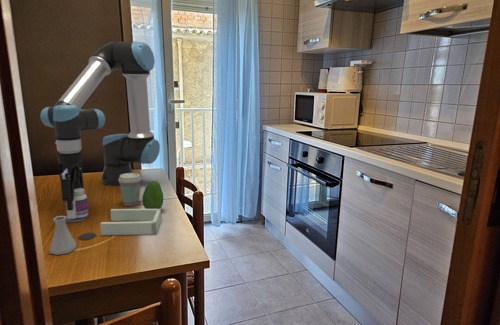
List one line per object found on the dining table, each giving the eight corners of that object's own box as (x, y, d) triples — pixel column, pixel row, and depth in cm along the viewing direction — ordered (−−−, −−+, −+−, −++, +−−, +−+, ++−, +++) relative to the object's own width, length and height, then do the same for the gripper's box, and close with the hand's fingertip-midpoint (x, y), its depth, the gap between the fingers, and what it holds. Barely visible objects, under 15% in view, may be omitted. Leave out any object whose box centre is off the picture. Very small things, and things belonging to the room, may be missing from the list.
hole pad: (82, 233, 107) (81, 232, 107) (98, 232, 108) (98, 232, 108) (75, 240, 103) (75, 240, 103) (92, 240, 103) (92, 239, 103)
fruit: (138, 210, 127) (136, 181, 124) (156, 205, 133) (155, 177, 130) (149, 216, 122) (148, 185, 119) (167, 211, 128) (167, 181, 125)
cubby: (112, 219, 118) (111, 209, 118) (161, 218, 121) (161, 208, 120) (101, 235, 107) (100, 223, 106) (155, 234, 109) (155, 222, 108)
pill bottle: (92, 213, 120) (90, 188, 118) (80, 219, 115) (78, 193, 113) (80, 211, 122) (78, 186, 120) (68, 216, 117) (65, 191, 115)
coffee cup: (135, 208, 129) (133, 179, 126) (115, 206, 131) (113, 177, 128) (146, 201, 137) (144, 173, 134) (127, 199, 139) (125, 171, 136)
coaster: (68, 213, 122) (68, 212, 122) (91, 213, 123) (91, 212, 123) (59, 222, 114) (59, 221, 114) (83, 222, 115) (83, 221, 115)
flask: (56, 243, 100) (52, 212, 98) (81, 243, 101) (78, 213, 99) (43, 255, 93) (39, 223, 91) (70, 255, 94) (67, 223, 92)
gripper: (69, 145, 121) (74, 205, 127) (44, 157, 104) (52, 225, 109) (90, 146, 122) (95, 205, 128) (70, 157, 104) (76, 225, 110)
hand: (75, 214), depth 118 cm, fingers closed on pill bottle, 5 cm apart
